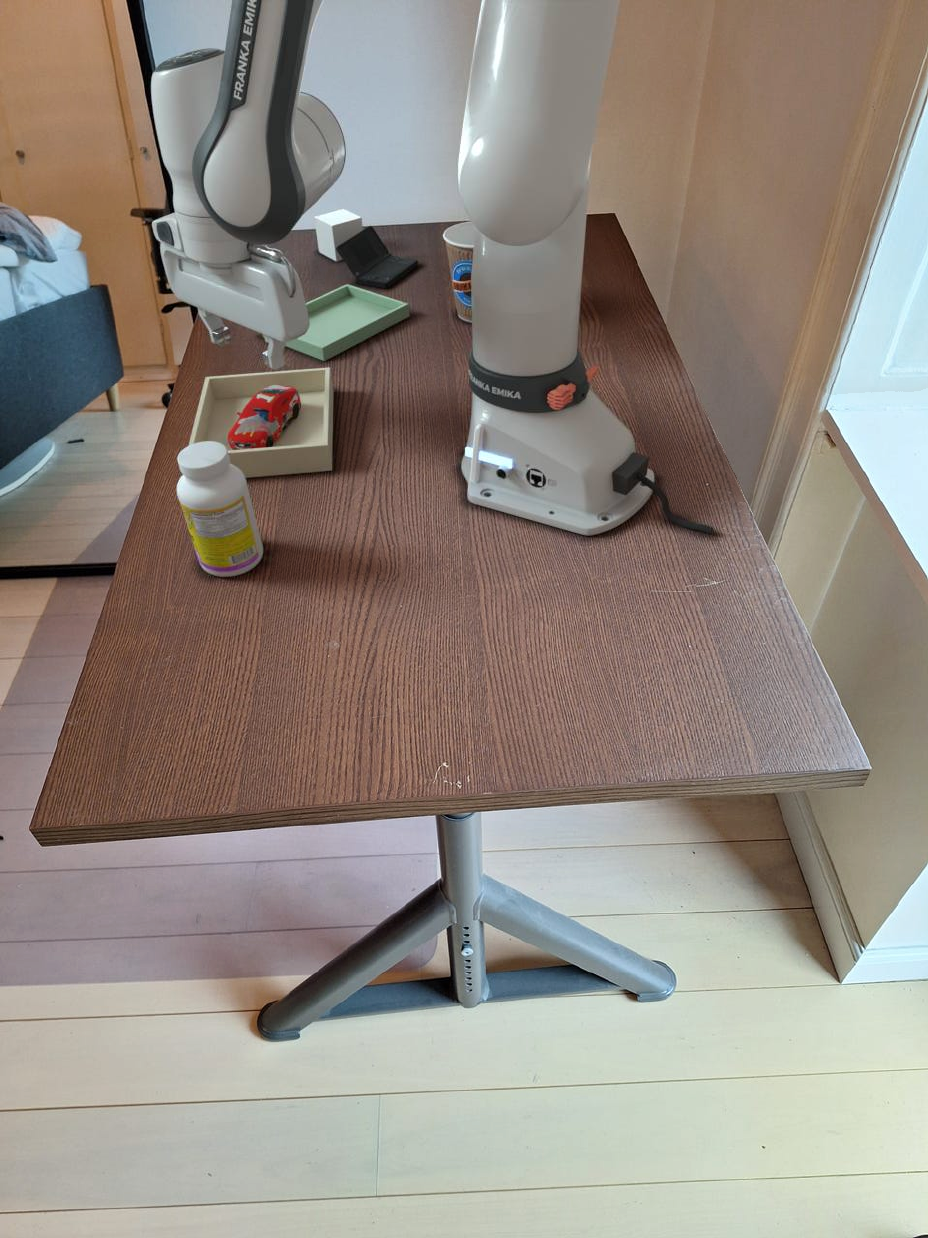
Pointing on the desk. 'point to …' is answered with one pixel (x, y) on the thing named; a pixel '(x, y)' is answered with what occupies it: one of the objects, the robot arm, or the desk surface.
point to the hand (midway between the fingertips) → (247, 354)
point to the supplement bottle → (218, 510)
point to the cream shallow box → (300, 441)
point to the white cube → (336, 231)
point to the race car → (265, 418)
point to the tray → (346, 320)
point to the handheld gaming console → (373, 260)
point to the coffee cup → (461, 265)
